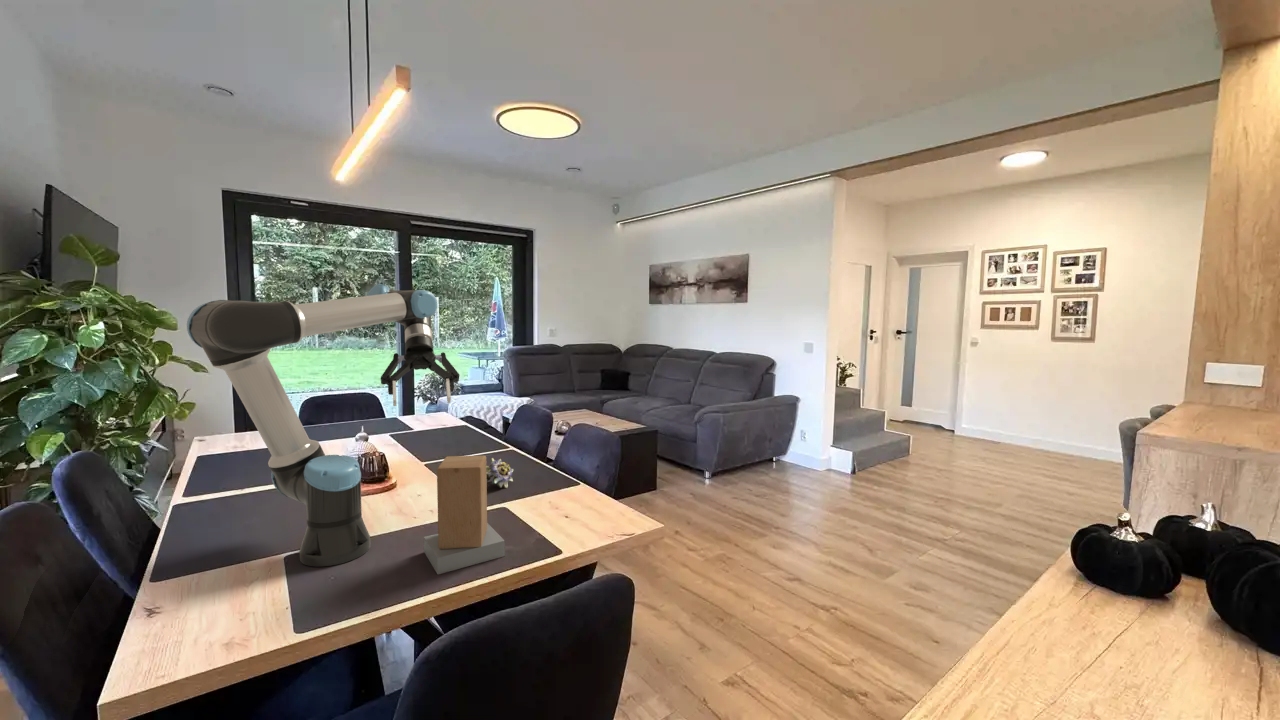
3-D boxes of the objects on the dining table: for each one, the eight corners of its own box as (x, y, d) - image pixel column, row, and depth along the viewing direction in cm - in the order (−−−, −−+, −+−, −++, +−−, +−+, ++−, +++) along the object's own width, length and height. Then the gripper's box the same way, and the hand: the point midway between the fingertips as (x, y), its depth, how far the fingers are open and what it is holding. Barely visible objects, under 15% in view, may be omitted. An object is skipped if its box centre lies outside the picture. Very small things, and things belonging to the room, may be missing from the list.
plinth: (437, 574, 116) (437, 558, 116) (424, 552, 127) (423, 536, 126) (504, 556, 126) (504, 540, 125) (487, 536, 136) (486, 522, 136)
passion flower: (505, 502, 174) (500, 482, 166) (477, 493, 176) (470, 473, 168) (520, 476, 182) (516, 456, 174) (493, 468, 184) (488, 448, 176)
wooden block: (481, 547, 121) (480, 466, 119) (437, 550, 120) (436, 468, 118) (487, 530, 131) (486, 454, 129) (447, 531, 129) (445, 455, 127)
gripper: (462, 350, 157) (469, 406, 145) (372, 351, 146) (371, 412, 134) (464, 334, 152) (471, 391, 140) (370, 334, 141) (369, 396, 129)
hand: (422, 401), depth 137 cm, fingers open, 13 cm apart
